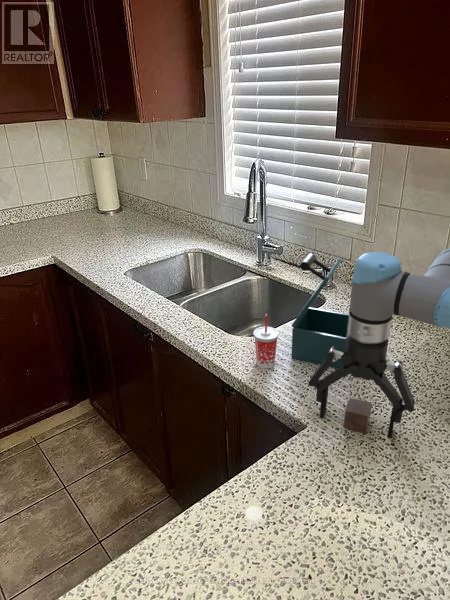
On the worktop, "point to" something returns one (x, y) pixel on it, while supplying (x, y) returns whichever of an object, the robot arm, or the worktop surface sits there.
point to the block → (357, 415)
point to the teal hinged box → (319, 336)
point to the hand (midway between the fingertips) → (355, 422)
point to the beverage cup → (265, 345)
